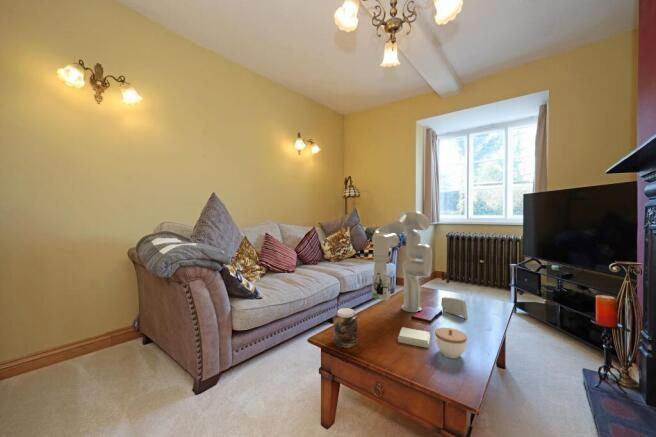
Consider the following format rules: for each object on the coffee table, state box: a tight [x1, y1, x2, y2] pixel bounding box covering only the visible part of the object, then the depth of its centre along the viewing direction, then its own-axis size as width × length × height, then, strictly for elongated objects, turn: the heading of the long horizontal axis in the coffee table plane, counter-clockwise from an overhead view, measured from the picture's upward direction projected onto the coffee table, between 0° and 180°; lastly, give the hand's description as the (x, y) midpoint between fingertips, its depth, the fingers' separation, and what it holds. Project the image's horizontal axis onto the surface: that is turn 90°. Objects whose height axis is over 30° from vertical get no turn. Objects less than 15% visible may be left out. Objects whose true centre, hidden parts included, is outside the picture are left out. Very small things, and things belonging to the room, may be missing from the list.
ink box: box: [371, 274, 391, 302], centre depth 136 cm, size 9×5×12 cm, turn 56°
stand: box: [397, 326, 431, 349], centre depth 128 cm, size 11×14×3 cm
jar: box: [333, 307, 359, 349], centre depth 126 cm, size 12×12×15 cm
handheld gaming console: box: [440, 296, 468, 320], centre depth 161 cm, size 11×3×15 cm
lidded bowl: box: [434, 327, 468, 359], centre depth 115 cm, size 13×13×11 cm
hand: (381, 292), depth 136 cm, fingers closed on ink box, 5 cm apart
